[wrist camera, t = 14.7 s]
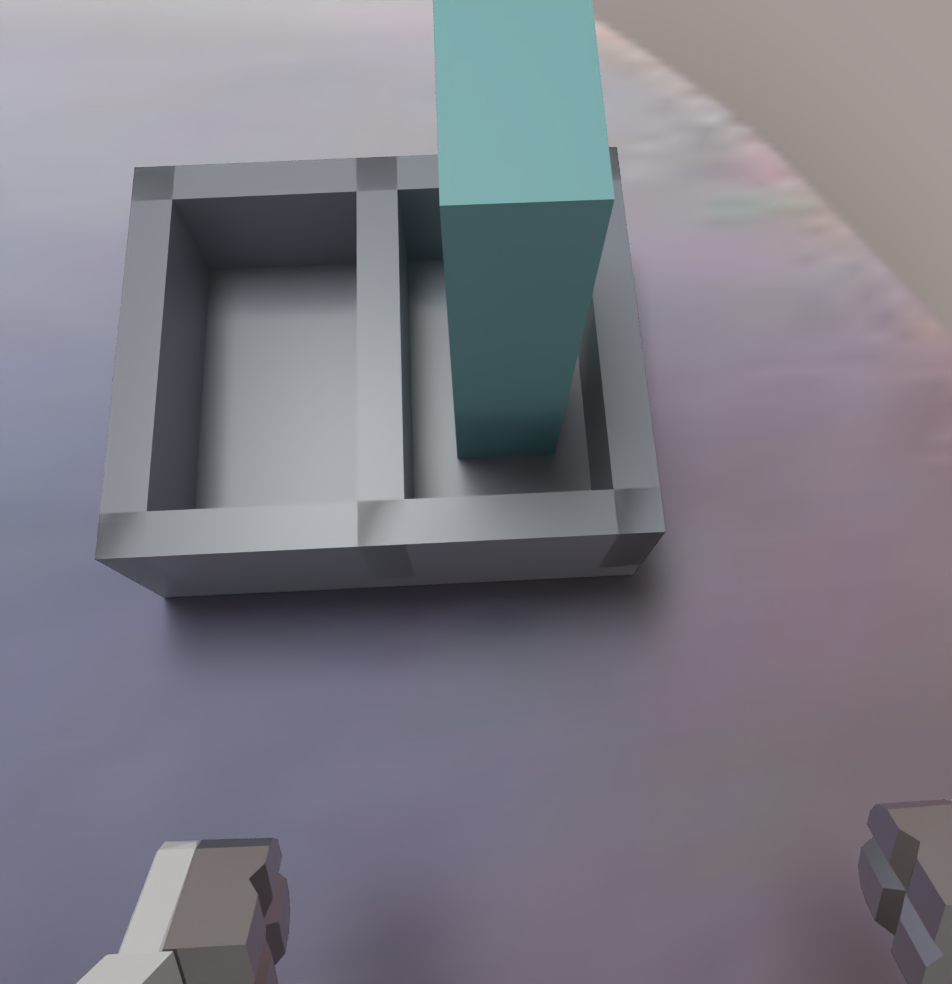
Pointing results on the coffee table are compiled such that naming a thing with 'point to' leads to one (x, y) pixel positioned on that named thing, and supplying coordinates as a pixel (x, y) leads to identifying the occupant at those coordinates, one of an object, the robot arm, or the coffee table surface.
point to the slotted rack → (345, 397)
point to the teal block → (518, 210)
